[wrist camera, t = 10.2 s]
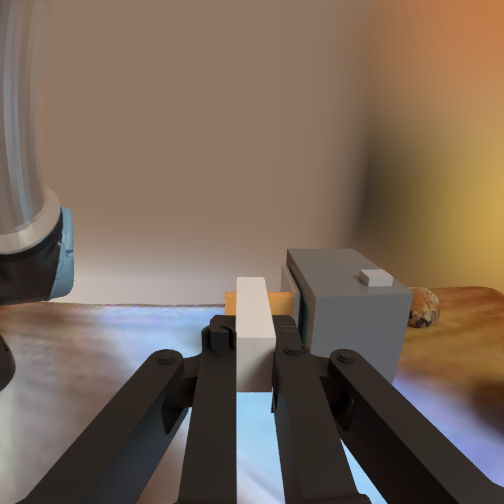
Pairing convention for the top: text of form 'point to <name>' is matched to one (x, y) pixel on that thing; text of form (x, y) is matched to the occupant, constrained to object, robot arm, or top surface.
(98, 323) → the top surface
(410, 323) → the bread roll
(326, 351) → the box
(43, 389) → the top surface
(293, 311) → the door
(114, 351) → the top surface
